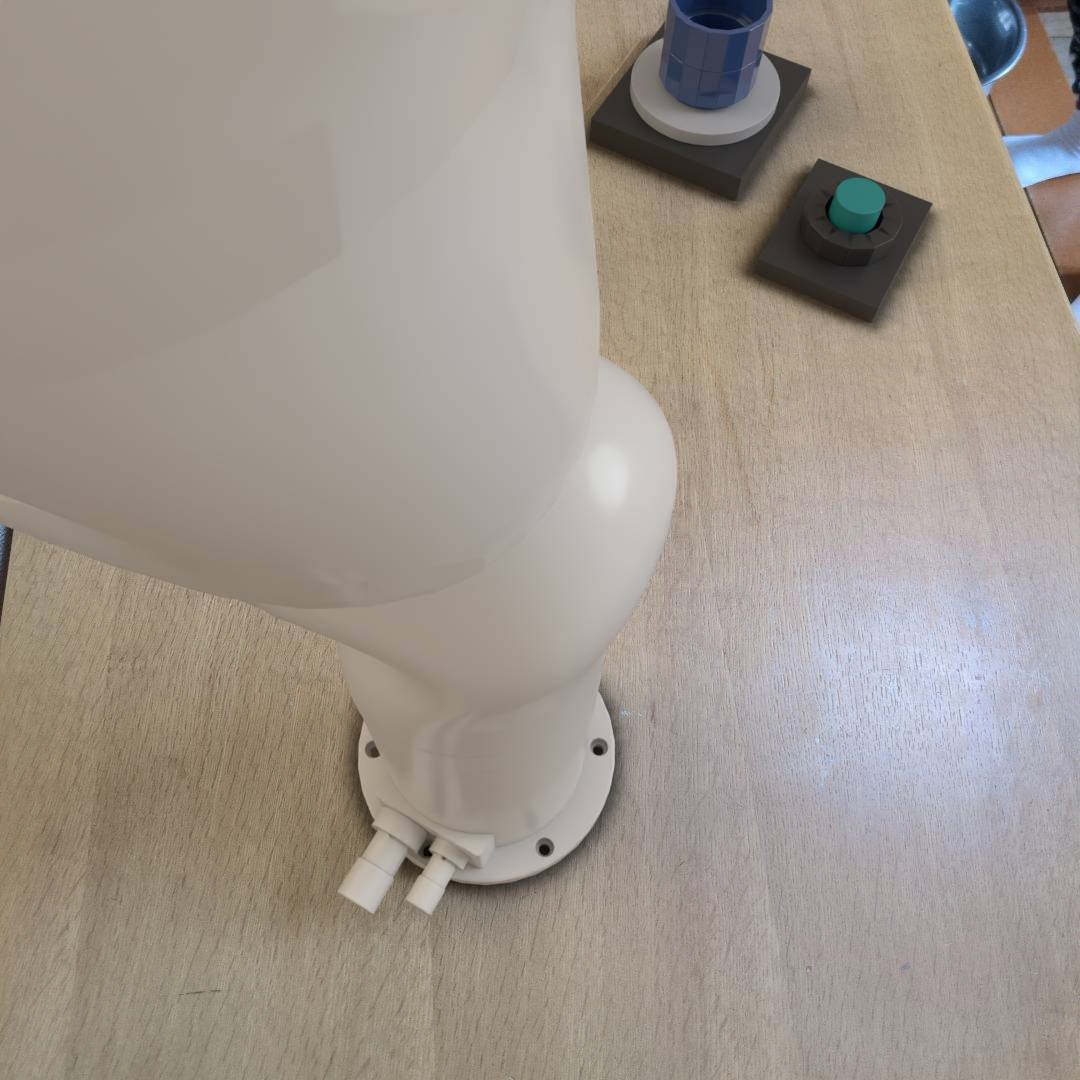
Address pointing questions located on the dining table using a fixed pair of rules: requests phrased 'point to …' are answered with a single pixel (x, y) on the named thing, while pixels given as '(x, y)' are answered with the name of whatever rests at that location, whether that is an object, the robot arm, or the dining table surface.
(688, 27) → the blue cup
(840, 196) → the button
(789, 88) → the scale
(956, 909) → the dining table surface
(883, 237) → the panel
